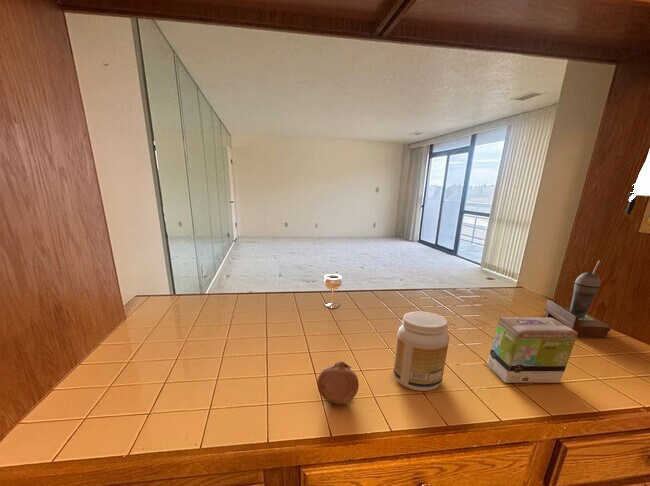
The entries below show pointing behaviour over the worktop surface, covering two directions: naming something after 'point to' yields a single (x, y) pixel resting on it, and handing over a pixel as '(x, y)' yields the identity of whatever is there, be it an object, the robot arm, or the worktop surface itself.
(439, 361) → the supplement tub
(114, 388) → the worktop surface
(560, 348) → the tea box
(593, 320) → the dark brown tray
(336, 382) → the onion
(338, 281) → the wineglass
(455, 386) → the worktop surface
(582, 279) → the beverage cup
